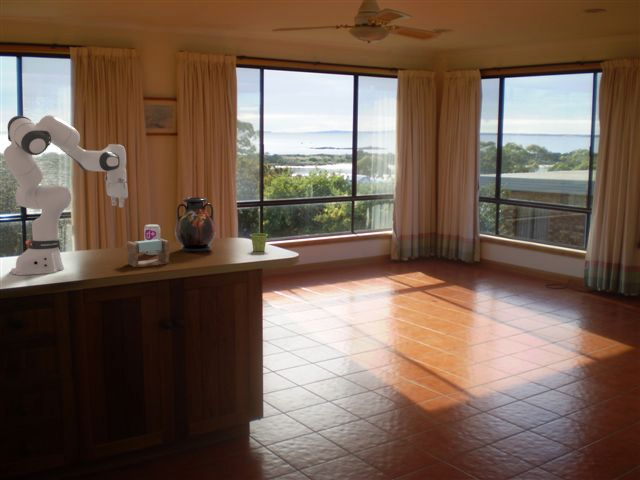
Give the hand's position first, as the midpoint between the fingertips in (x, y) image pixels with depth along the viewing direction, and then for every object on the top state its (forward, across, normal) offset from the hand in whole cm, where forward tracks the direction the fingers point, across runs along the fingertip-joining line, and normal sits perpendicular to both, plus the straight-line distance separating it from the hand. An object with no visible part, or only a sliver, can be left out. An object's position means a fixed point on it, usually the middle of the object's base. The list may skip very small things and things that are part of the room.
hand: (117, 206), depth 334 cm
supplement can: (+27, +12, -22) cm, 37 cm away
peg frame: (+27, -12, -10) cm, 32 cm away
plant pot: (+26, -10, -73) cm, 78 cm away
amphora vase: (+26, +9, -45) cm, 53 cm away
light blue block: (+20, -12, -10) cm, 26 cm away
